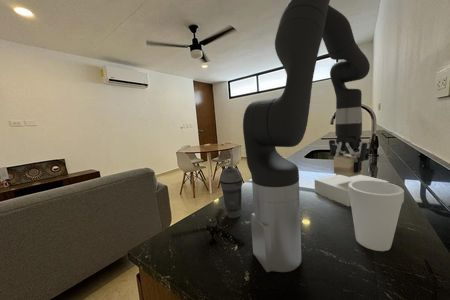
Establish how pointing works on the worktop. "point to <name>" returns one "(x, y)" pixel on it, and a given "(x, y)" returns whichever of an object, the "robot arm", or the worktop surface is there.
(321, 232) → the worktop surface
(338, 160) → the maple block
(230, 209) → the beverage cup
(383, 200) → the foam cup
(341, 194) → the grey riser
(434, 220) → the worktop surface
